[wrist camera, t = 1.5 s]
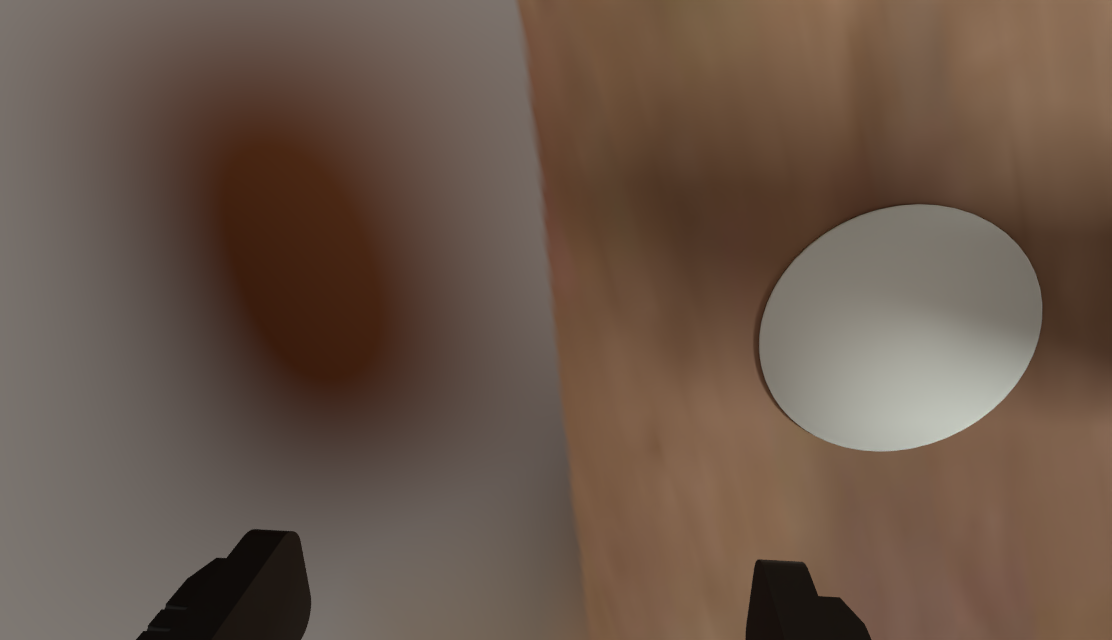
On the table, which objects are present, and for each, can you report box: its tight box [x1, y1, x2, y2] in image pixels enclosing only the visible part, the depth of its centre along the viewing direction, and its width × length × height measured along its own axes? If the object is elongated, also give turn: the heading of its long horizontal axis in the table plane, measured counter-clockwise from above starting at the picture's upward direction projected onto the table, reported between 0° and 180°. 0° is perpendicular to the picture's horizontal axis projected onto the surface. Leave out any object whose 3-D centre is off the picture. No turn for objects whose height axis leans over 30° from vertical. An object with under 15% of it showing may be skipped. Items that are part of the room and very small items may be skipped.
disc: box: [759, 204, 1042, 451], centre depth 31 cm, size 13×13×1 cm
